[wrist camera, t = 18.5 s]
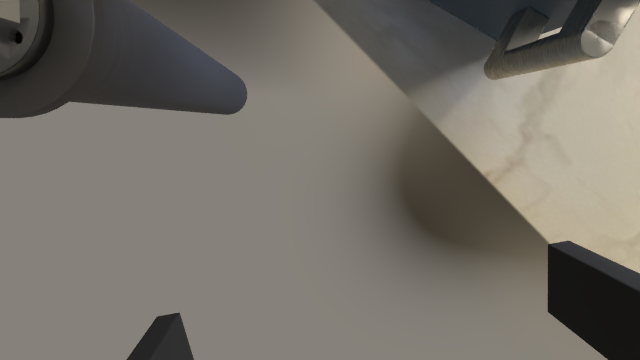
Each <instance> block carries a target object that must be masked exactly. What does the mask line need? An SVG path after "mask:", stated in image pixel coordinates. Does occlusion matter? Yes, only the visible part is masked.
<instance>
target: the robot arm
mask: <svg viewBox="0 0 640 360" xmlns="http://www.w3.org/2000/svg"><path fill="white" fill-rule="evenodd" d="M53 26H54V7H53V1H52V0H0V80H5V79H9V78H13V77H16V76H18V75H20V74H22V73H24V72H26V71H27V70H29V69H30V68H31V67H33V66H34V65H35V64H36V63H37V62H38V61H39V60H40V58H41V57H42V56H43V54H44V53H45V51H46V49H47V47H48V45H49V43H50V40H51V37H52V32H53ZM548 312H549V313H550V314H551V315H553V316H554V317H555V318H556V319H558V320H559V321H560V322H561V323H563V324H564V325H565V326H566V327H568V328H569V329H570V330H572V331H573V332H574V333H575V334H577V335H578V336H579V337H580V338H582V339H583V340H584V341H585V342H587V343H588V344H589V345H590V346H592V347H593V348H594V349H595V350H597V351H598V352H599V353H601V354H602V355H603V356H604V357H605V358H607V359H608V360H640V274H639V273H637V272H635V271H633V270H631V269H628V268H626V267H624V266H622V265H620V264H618V263H616V262H613V261H611V260H609V259H607V258H605V257H603V256H601V255H598V254H596V253H594V252H592V251H590V250H588V249H586V248H583V247H581V246H579V245H577V244H575V243H573V242H571V241H564V242H559V243H553V244H548ZM127 360H194V359H193V355H192V352H191V349H190V345H189V342H188V339H187V336H186V332H185V329H184V326H183V322H182V319H181V316H180V313H175V314H170V315H164V316H158V317H157V318H156V319H155V320H154V322H153V323H152V325H151V326H150V328H149V329H148V330H147V332H146V333H145V335H144V336H143V337H142V339H141V340H140V342H139V343H138V344H137V346H136V347H135V349H134V350H133V352H132V353H131V354H130V356H129V357H128V359H127Z"/></svg>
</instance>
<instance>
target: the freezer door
mask: <svg viewBox="0 0 640 360" xmlns="http://www.w3.org/2000/svg"><path fill="white" fill-rule="evenodd" d="M429 1H430V2H432V3H434V4H436V5H437V6H439V7H441V8H442V9H444V10H446V11H448V12H449V13H451V14H453V15H454V16H456V17H458V18H460V19H461V20H463V21H465V22H467V23H468V24H470V25H472V26H473V27H475V28H477V29H479V30H480V31H482V32H484V33H485V34H487V35H489V36H491V37H492V38H494V39H496V40H497V42H496V44H495V46H494V48H493V50H492V52H491V53H490V55H489V57H488V59H487V61H486V62H485V65H484V73H485V75H486V76H487V77H488V78H489V79H492V80H497V79H502V78H507V77H511V76H516V75H521V74H525V73H530V72H535V71H539V70H544V69H549V68H553V67H558V66H562V65H567V64H572V63H576V62H581V61H586V60H590V59H595V58H599V57H602V56H604V55H606V54H607V53H608V52H609V51H610V50H611V49H612V47H613V45H614V44H615V42H616V40H617V39H618V37H619V36H620V34H621V32H622V31H623V29H624V27H625V26H626V24H627V22H628V21H629V19H630V17H631V16H632V14H633V12H634V11H635V9H636V7H637V6H638V4H639V3H640V0H429ZM560 27H562V29H561V30H560V32H559V33H557V34H554V35H551V36H548V37H545V38H542V39H539V40H538V38H539V36H540V35H541V34H543V33H546V32H549V31H552V30H554V29H557V28H560Z"/></svg>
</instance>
